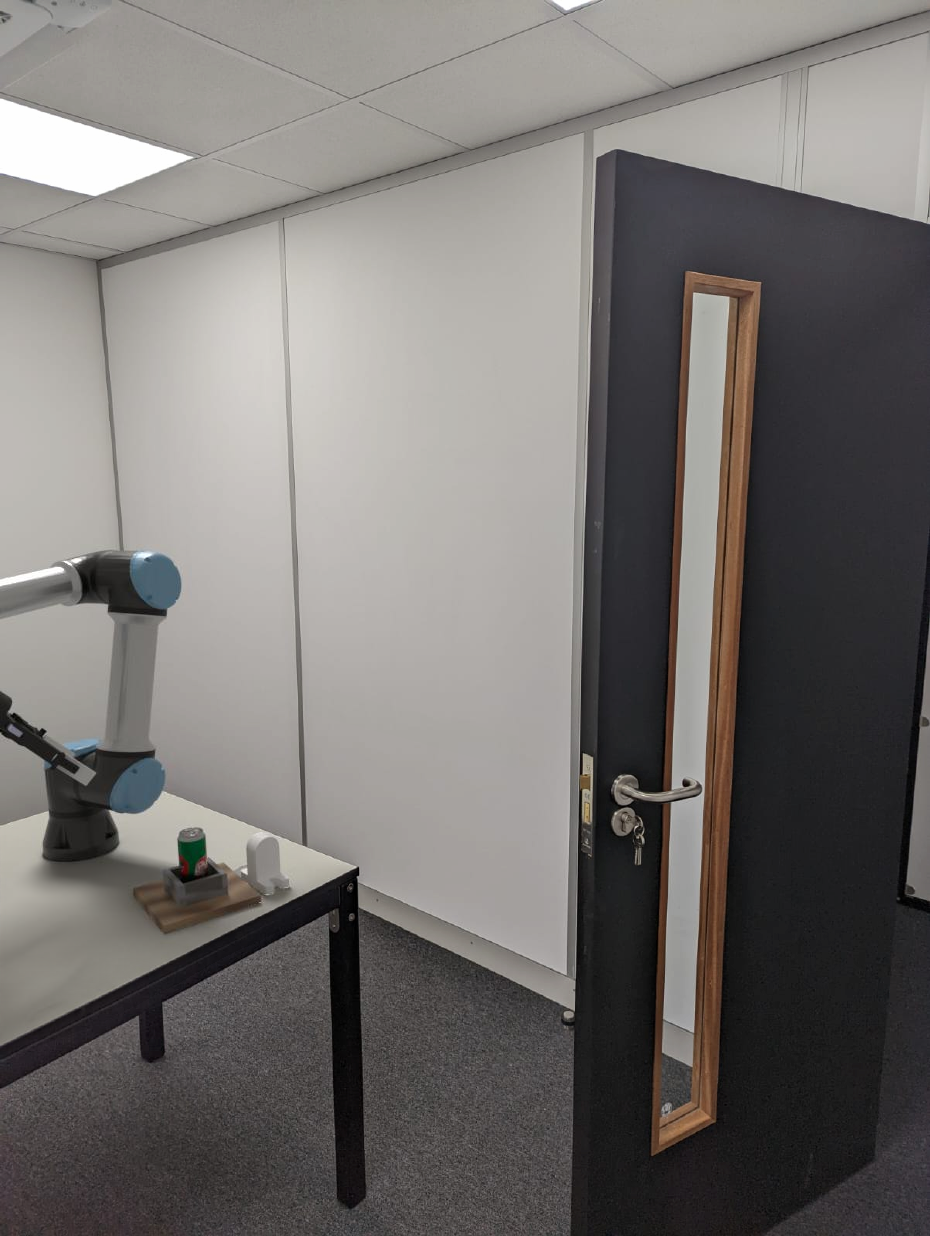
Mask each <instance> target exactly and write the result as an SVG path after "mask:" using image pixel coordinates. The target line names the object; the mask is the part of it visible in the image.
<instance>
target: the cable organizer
mask: <svg viewBox="0 0 930 1236" xmlns="http://www.w3.org/2000/svg"><path fill="white" fill-rule="evenodd" d="M245 848H246V849H245V850H246V851H245V852H246V867H245V868H242V869H240V877H241V878H242V879H243V880H244V881H245V882H246V883H248V884H249V885H250V886H252V888H253V887H254V888H256V889H257V890H256V889H255V890H256V891H258V890H260V891H261V892H262V893H261V892H260V893H261V894H263V893H264V894H271V895H273V894H272V893H274V894H275V887H277V886H279V887H281V888H285V887H288V886H289V887H290V877H289V876H287V875H285V874H284V873H282V872H281V857H280V856H281V855H280V854H281V852H280V842H279V841H278V839H277V838H275V837H274V836H272V835H270V834H268V833H266V832H265V831H259V832H256V833H254V834H252V835H251V836H250V838H249V839H248V840H247V843H246V847H245ZM279 887H278V888H279ZM254 888H253V889H254ZM281 888H280V889H281ZM264 894H263V895H264Z"/></svg>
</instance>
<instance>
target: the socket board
mask: <svg viewBox="0 0 930 1236" xmlns="http://www.w3.org/2000/svg"><path fill="white" fill-rule="evenodd" d="M207 864H208V877H204V878H201V879H197V880H194V881H191V882H187V883H184V884H183V883H182V882H181V881H180V870H179V865H176V866H172V867H169V868H165V869H162V873H163V874H162V875H163V877H162V878H163V879H160V880H156V881H153V882H148V883H145V884H142V885H137V886H135V887H133V888H132V896H133V895H134V896H133V897H134V898H135V899H136V901H137V902H138V901H139V902H138V903H139V904H140V906H141V907H142V906H143V907H144V908H143V907H142V908H143V910H145V911H146V912H148V913H147V914H148V915H149V916H150V918H151V917H152V918H151V919H152V921H154V923H156V924H155V925H157V926H158V927H159V928H160V930H161V931H162V932H163V933H164V934H168V933H171V932H174V931H177V930H180V929H183V927H184V928H187V927H190V926H192V924H193V925H196V924H199V923H202V922H201V921H203V922H205V921H206V922H207V921H208V920H212V919H214V917H215V918H218V917H221V916H224V915H226V914H227V915H228V914H230V913H232V912H233V911H234V912H237V911H239V910H243V909H246V908H249V907H252V906H255V905H254V904H256V905H258V904H257V903H259V902H261V903H262V898H261V897H262V895H261V894H260V893H259V891H257V890H256V889H254V888H253V887H251V886H250V885H249V884H247V883H246V882H245V881H244V880H243V879H242V878H241V876H239V875H238V873H236V872H235V871H234V870H232V869H231V868H230V867H229V866H228V865H227V864H226V863H225V862H219V863H216V862H215V861H214V860H213V859H212V858H211V857H208V856H207ZM259 904H260V903H259ZM251 905H252V906H251ZM248 906H249V907H248ZM245 907H246V908H245ZM242 908H243V909H242ZM234 912H233V913H234ZM211 918H212V919H211ZM189 925H190V926H189ZM186 926H187V927H186Z"/></svg>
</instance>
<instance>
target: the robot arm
mask: <svg viewBox="0 0 930 1236" xmlns="http://www.w3.org/2000/svg"><path fill="white" fill-rule="evenodd" d="M181 593H182V577H181V573H180V571H179V569H178V567H177V566H176V564H175V563H174V560H172V559H171V558H170V557H169V556H167V555H165V554H164V553H161V552H155V551H149V550H115V549H105V550H100V551H99V550H98V551H93V552H90V553H86V554H82V555H78V556H74V557H71V558H66V559H63V560H58V561H55V562H53V563H52V564H51V566H49V568H45V569H39V570H35V571H30V572H25V573H22V574H16V575H15V574H14V575H11V576H7V577H2V578H0V620H2V619H7V618H11V617H14V616H15V617H16V616H18V615H22V614H25V613H30V612H34V611H38V610H42V609H46V608H49V607H53V606H58V605H63V606H64V607H73V606H76V605H84V604H94V605H95V604H96V605H97V604H100V605H101V604H102V605H107V611H106V612H107V613H106V614H107V615H108V616H109V617H110V618H111V619H112V620H113V622H114V623H113V624H114V625H113V638H112V649H111V650H112V651H111V661H110V670H109V671H110V673H109V683H108V693H107V694H108V695H107V705H106V706H107V708H106V720H105V730H104V731H105V732H104V737H103V739H97V738H87V739H79V740H75V741H70V742H65V743H62V744H61V743H60V742H58V741H56V740H55V739H53V738H52V737H51V736H49V735H47V734H46V733H47V732H48V731H47V730H46V729H44V728H43V727H41V728H40V729H38V727H35V726H33V725H31V724H29V723H28V721H26V720H25V719H24V718H23V717H22V716H21V715H19V714H18V713H16V712H13V713H11V712H9V711H10V710H11V708H12V705H13V698H12V697H10V696H9V695H7V694H6V693H4V692H3V691H2V690H0V735H2V736H3V737H4V738H6V739H9V740H11V741H13V742H14V743H15V744H17V745H18V746H20V747H24V748H26V749H27V750H29V751H31V753H34V754H35V755H36V756H38V757H39V758H40V759H42V760H44V766H43V771H44V779H45V788H46V799H47V806H48V821H47V824H46V829H45V832H44V836H43V839H42V844H41V845H42V853H43V856H44V857H45V858H47V859H48V860H53V861H57V862H58V861H59V862H60V861H61V862H73V861H74V862H75V861H81V860H85V859H86V860H87V859H89V858H90V859H91V858H94V857H98V856H100V855H103V854H105V853H108V852H110V851H111V850H113V849H114V848H115V847H117V845H118V844H119V843H120V836H119V835H120V834H119V833H120V832H119V829H118V827H117V825H116V823H115V820H114V819H113V815H112V814H111V812H114V813H117V814H123V815H124V814H129V815H137V814H140V813H144V812H145V811H148V809H150V808H151V807H153V805H154V804H155V802H156V801H158V800H159V798H160V797H161V795H162V793H163V790H164V787H165V784H166V771H165V767H163V764H162V763H161V762H160V761H159V760H158V759H156V745H154V743H153V742H152V741H151V740H150V730H151V729H150V728H151V720H152V719H151V717H152V706H153V705H152V704H153V692H154V684H155V682H154V681H155V680H154V679H155V669H156V655H157V644H158V634H159V632H158V631H159V625H160V624H161V623H162V622H163V621H164V620H166V619H167V618H168V609H169V608H170V609H171V608H172V607H173V606H174V605H175V604H176V603H177V601H179V599H180V595H181ZM110 811H111V812H110Z"/></svg>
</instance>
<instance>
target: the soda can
mask: <svg viewBox="0 0 930 1236" xmlns="http://www.w3.org/2000/svg"><path fill="white" fill-rule="evenodd" d="M206 837H207V836H206V833H205V832H204V829H203V828H201V827H198V826H194V827H193V826H192V827H187V828H184V829H182V830H180V831H179V833H178V836H177V839H176V840H177V842H176V843H177V853H178V855H177V856H178V866H179V870H180V881H181V882H182V883H183V884H184V883H187V882H191V881H194V880H197V879H201V878H204V877H208V864H207V858H208V854H207V852H208V851H207V838H206Z"/></svg>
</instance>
